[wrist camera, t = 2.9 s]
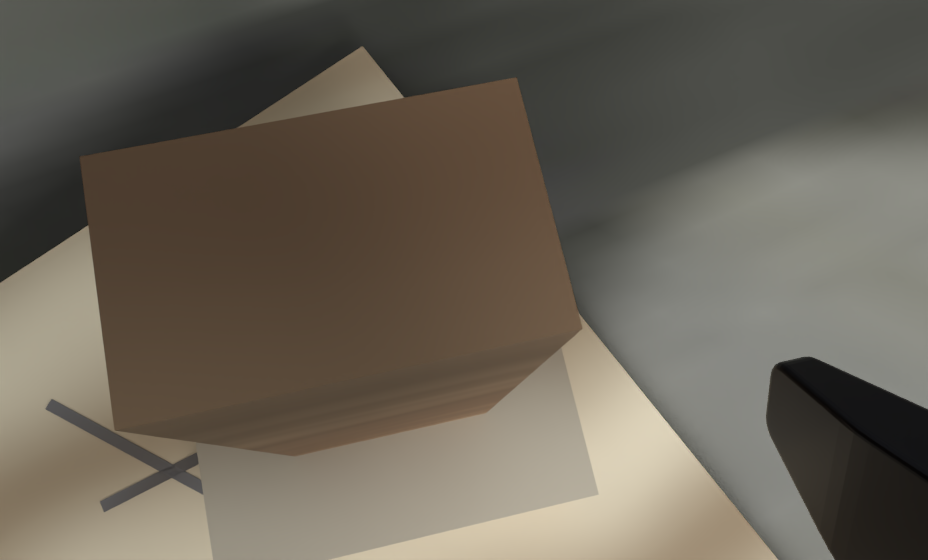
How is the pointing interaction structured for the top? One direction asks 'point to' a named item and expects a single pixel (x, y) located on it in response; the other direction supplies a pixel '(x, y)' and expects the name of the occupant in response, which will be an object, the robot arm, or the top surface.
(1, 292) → the plywood board
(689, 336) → the top surface
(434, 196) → the block
